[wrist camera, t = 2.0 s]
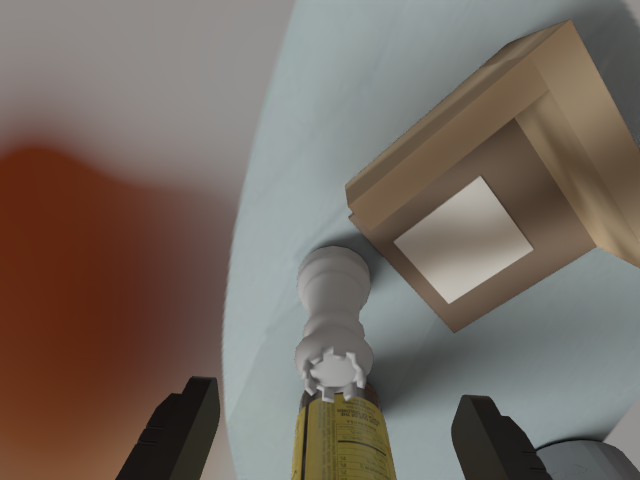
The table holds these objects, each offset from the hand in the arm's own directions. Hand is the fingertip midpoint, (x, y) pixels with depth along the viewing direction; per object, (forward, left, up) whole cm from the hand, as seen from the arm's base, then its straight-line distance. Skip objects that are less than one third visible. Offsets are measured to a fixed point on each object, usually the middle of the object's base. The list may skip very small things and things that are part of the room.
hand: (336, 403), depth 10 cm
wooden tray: (-3, -8, -10) cm, 13 cm away
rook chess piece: (0, 0, -10) cm, 10 cm away
